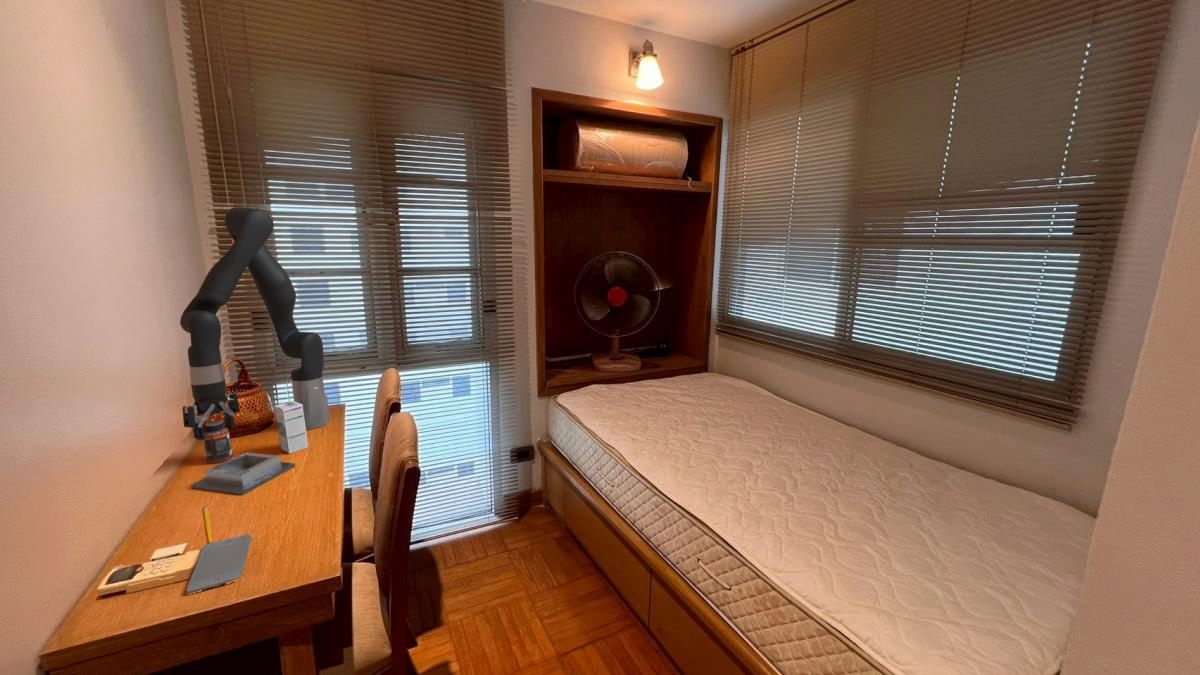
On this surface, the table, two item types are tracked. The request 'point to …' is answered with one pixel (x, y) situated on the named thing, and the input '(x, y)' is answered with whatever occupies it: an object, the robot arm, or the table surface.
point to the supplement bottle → (217, 442)
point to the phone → (219, 563)
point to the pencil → (207, 523)
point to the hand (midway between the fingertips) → (215, 433)
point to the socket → (242, 473)
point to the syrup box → (291, 426)
